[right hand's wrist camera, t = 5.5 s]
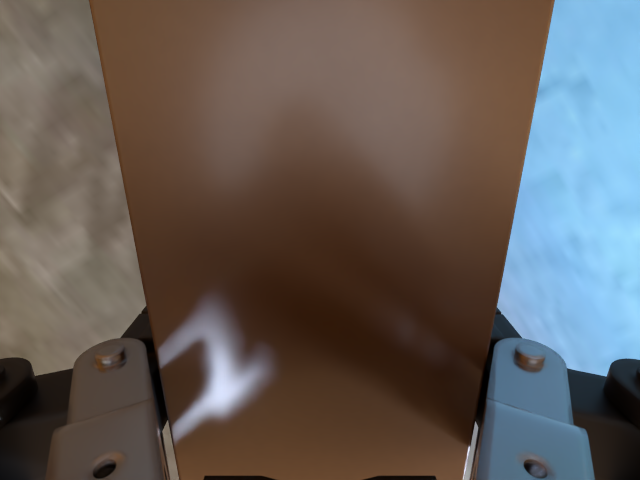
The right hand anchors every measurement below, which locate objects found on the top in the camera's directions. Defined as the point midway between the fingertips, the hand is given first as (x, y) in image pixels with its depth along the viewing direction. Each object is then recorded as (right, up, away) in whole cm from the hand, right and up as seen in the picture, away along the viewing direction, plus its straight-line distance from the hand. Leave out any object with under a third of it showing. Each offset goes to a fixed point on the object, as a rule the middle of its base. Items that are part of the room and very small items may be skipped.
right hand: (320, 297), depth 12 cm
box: (0, +11, +5) cm, 12 cm away
